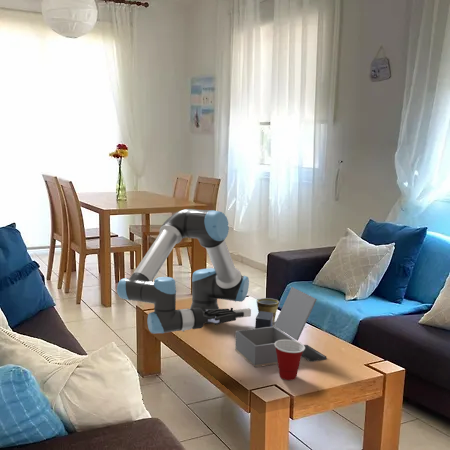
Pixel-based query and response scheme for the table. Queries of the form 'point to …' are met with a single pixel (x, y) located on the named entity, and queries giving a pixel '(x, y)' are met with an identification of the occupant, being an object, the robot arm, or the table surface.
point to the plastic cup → (288, 358)
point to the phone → (312, 354)
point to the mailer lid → (295, 313)
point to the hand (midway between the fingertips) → (249, 312)
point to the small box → (264, 319)
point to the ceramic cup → (268, 306)
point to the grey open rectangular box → (259, 345)
